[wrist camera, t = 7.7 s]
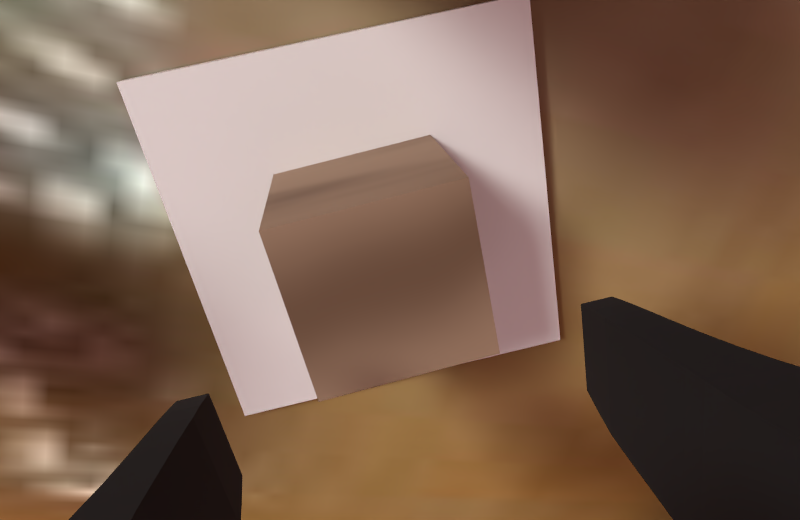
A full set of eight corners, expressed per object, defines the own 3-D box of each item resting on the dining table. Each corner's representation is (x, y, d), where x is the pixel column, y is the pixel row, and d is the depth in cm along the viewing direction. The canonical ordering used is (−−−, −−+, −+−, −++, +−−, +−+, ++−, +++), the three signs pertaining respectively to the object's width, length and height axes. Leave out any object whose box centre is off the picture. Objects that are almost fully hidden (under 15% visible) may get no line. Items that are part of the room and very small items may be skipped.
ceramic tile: (554, 331, 22) (560, 339, 22) (246, 405, 22) (244, 415, 21) (522, -6, 17) (529, -7, 17) (123, 79, 17) (116, 82, 16)
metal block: (458, 275, 20) (500, 353, 16) (318, 312, 20) (318, 401, 15) (430, 134, 18) (468, 177, 13) (273, 174, 18) (258, 231, 13)
